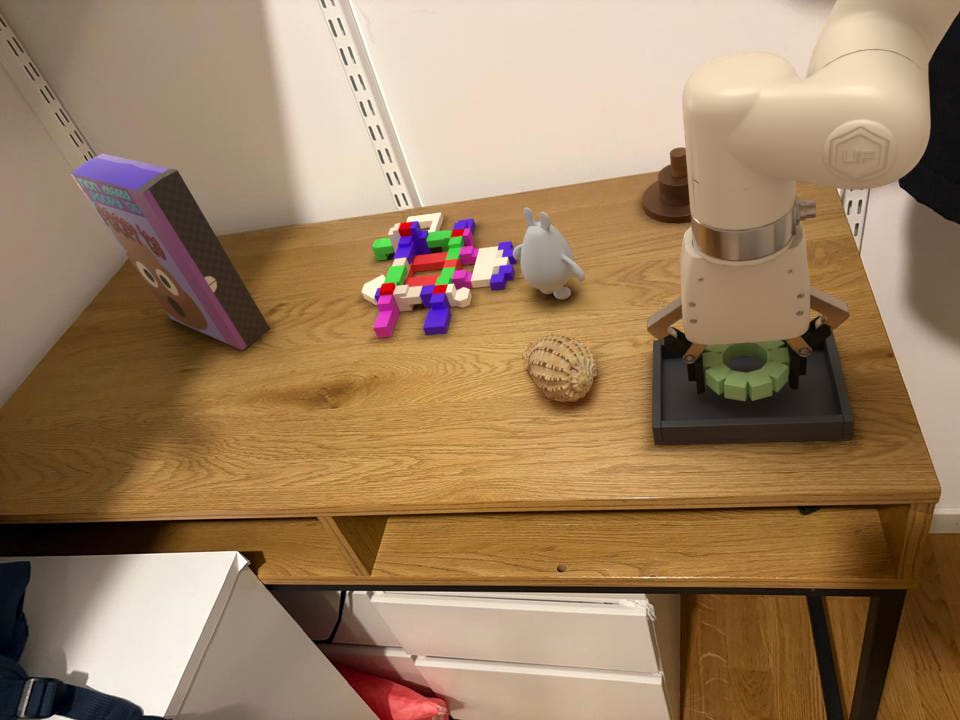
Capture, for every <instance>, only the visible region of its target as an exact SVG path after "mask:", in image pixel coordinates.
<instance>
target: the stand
mask: <svg viewBox="0 0 960 720" xmlns="http://www.w3.org/2000/svg"><path fill="white" fill-rule="evenodd" d="M669 161H670V164H667V165H666V166H664V167H662V169H660V171H659V172H658V173H657V180H656V181H655V182H653V183H652V184H650V185H649V186H648V187H647V188H646V190H645V191H644V192H643V195H642V207H643V210H644V212H645V213H646V215H647V216H649V217H650V218H652V219H653V220H656V221H658V222H662V223H669V224H681V223H689V222H690V223H691V213H690V200H689V187H688V174H687V161H686V148H685V147H681V146H680V147H675V148H672V150H670V151H669Z"/></svg>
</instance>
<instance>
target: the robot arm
mask: <svg viewBox="0 0 960 720" xmlns="http://www.w3.org/2000/svg"><path fill="white" fill-rule="evenodd" d="M959 14H960V0H836V1H835V3H834V5H833V6H832V8H831V11H830V12H829V15H828V17H827V19H826V21H825V23H824V26H823V27H822V29H821V31H820V34H819V36H818V38H817V40H816V43H815V45H814V47H813V49H812V52H811V55H810V58H809V61H808V66H807V69H806V72H805V73H806V74H805V78H803V77H800V76H799V74H797V71H796V69H795V67H794V66H793V64H792V63H791V62H790V61H789V60H788V59H786V58H784V57H782V56H780V55H779V54H776V53H772V52H766V51H741V52H734V53H729V54H726V55H722V56H720V57H716V58H713V59H712V60H709V61H707V62H705V63H704V64H702V65H701V66H699V67H698V68H697V69H695V70H694V71H693V72H692V73H691V74H690V76H689V77H688V79H687V80H686V82H685V85H684V87H683V90H682V95H681V96H682V97H681V100H682V101H681V103H682V105H681V108H682V119H683V133H684V145H685V146H684V148H686V161H687V174H688V187H689V200H690V213H691V221H690V224H691V226H690V227H688V228H687V230H686V231H685V232H684V234H683V237H682V243H681V249H680V250H681V251H680V262H679V276H680V277H679V278H680V295H679V296H678V297H677V298H675V299H674V300H672V301H670V302H669V303H668V304H666V305H665V306H663V307H662V308H661V309H659V310H658V311H656V312H655V313H653V314H652V315H650V316H649V317H648V318H647V321H646V322H647V323H646V331H647V332H648V333H649V334H650V335H651V336H652V337H654V338H655V339H656V340H659V341H662V342H663V343H664V345H665V347H666V348H668V349H670V350H671V351H673V352H675V353H677V354H678V355H680V356H682V357H683V361H684V362H685V363H687V370H688V381H696V385H697V394H703V392H705V383H704V371H703V354H702V352H703V351H704V349H705V348H706V346H707V345H712V344H731V343H747V342H762V341H775V340H785V341H786V342H787V348H788V354H789V360H790V371H789V375H788V382H789V388H792V390H793V389H798V388H799V376H801V375H806V367H807V356H809V355H811V354H812V348H814V347H815V346H817V345H818V344H820V343H821V342H822V341H824V340H825V339H827V338H828V337H829V336H830V335H831V331H832V330H833V331H834V330H836V329H838V328H839V327H840V326H841V325H842V324H844V322H845V321H847V320H848V319H849V318H850V316H851V313H850V309H849V305H848V303H847V302H845V301H843V300H841V299H839V298H837V297H835V296H833V295H831V294H829V293H827V292H825V291H822V290H821V289H818V288H817V287H815V286H812V285H810V284H811V283H810V267H809V257H808V252H807V240H806V235H805V234H806V233H805V230H804V227H803V223H802V222H805V221H806V220H807V219H815V218H817V203H816V200H815V199H812V200H811V199H810V200H805V199H799V195H797V193H796V192H797V191H796V190H797V182H798V183H802V184H803V183H804V184H809V185H816V186H820V187H826V188H830V189H831V188H832V189H838V190H839V189H840V190H852V191H859V190H872V189H877V188H881V187H884V186H888V185H890V184H892V183H895V182H896V181H898V180H900V179H901V178H903V177H906V175H907V174H909V173H910V172H911V171H913V169H914V168H915V167H916V166H917V165H918V164H919V162H920V160H921V159H922V157H923V156H924V154H925V152H926V149H927V147H928V144H929V140H930V135H931V127H932V126H931V124H932V123H931V121H932V120H931V101H930V100H931V99H930V98H931V97H930V81H929V63H930V61H931V59H932V57H933V55H934V53H935V51H936V50H937V47H938V46H939V45H940V43H941V41H942V40H943V38H944V37H945V36H946V33H947V32H948V30H949V28H950V27H951V26H952V23H953V22H954V20H955V19H956V17H957V16H958V15H959ZM811 310H813V311H815V312H817V313H818V314H821V315H817V316H816V317H814V318H813V319H812V320H811ZM681 319H682V327H683V331H681V330H680V329H678V328H676V327H675V326H672V325H674V324H675V323H677V322H679V321H680V320H681Z"/></svg>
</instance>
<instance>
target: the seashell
mask: <svg viewBox="0 0 960 720" xmlns="http://www.w3.org/2000/svg"><path fill="white" fill-rule="evenodd" d="M521 356H522V357H521V359H522V360H523V365H524V366H525V369H526V371H528V372H529V374H530V376H531V377H533V378H532V379H533V380H534V385H535V386H536V387H537V388H539V389H540V390H541V391H542V392H543V393H544V395H545V396H546V397H547V398H548V399H550V400H553V401H557V402H561V403H564V402H570V403H576V402H577V401H578V400H580V399H582V398H585V396H586V394H587V393H588V392H590V390H591V387H592V385H593V383H594V378H595V377H597V376H598V365H597V363H598V362H597V358H596V357H595V355H594V353H593V352H592V350H591V348H589V347H588V346H586V345H585V344H584V343H583V342H582V341H580V340H579V339H577V338H575V337H572V336H567V335H561V334H548V335H545V336H543V337H540V338H539V339H537V340H536V341H535V342H528V343H526V344H525V345H524V348H523V351H522V353H521Z"/></svg>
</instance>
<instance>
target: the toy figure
mask: <svg viewBox="0 0 960 720" xmlns="http://www.w3.org/2000/svg"><path fill="white" fill-rule="evenodd" d="M522 215H523V218H524V220H525V221H526V223H527V224H528V228H527V229H526V231H525V234H524V237H523V240H522V243H519V244H518V245H516V246H515V247H513V248H514V250H513V256H514V258H515V259H516V260H517V261H520V269H521V274H522V276H523V277H524V279H525V281H527V283H528V284H529V285H530V286H532V287H533V288H535V289H537V290H540V292H541V293H542V294H544V295H552V294H553V296H554V298H556V299H558V300H566V299H568V298H570V297H571V296H572V295H571V294H572V291H571V288H569V287H567V286H565V285H566V284H568V282H569V280H570V279H571V277H573V278H576V279H577V280H578V281H579V282H584V281H585V280H586V274H585V272H584V270H583V268H581V266H580V265H578V263H576V261H575V255H574V252H573V249H572V246H571V245H570V243H569V242H568V241H567V240H566V238H565V236H564V235H563V234H562V233H561V232H560V231H559V230H558V228H557V227H556V226H555V225H554V223H552V220H551V218H550V216H549V214H547V212H545V211H541V212H540V213H539V221H536V219H535V216H534V212H533V211H532V209H531V208H530V207H527V206H525V207H524V208H523V210H522Z"/></svg>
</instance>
